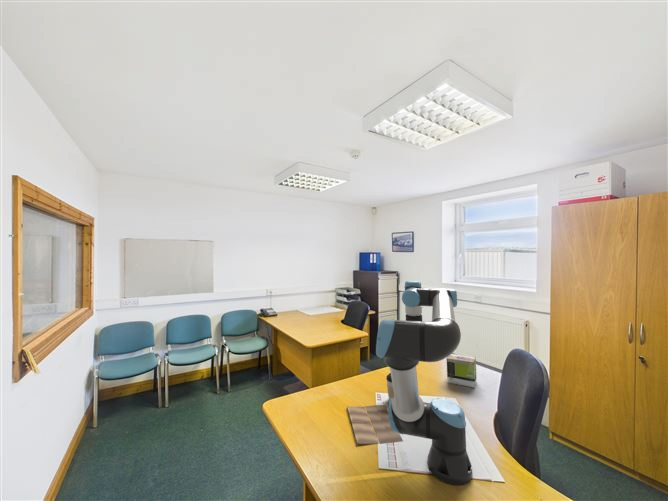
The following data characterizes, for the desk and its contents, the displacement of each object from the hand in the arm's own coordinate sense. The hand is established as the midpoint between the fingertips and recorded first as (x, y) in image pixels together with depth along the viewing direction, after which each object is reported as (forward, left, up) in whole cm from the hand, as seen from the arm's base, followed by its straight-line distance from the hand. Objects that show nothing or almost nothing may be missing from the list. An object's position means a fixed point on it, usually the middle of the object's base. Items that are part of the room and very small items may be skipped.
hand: (415, 363), depth 134 cm
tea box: (+32, -41, -27) cm, 59 cm away
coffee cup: (+16, +5, -27) cm, 31 cm away
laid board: (-1, +17, -26) cm, 31 cm away
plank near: (-8, +27, -26) cm, 38 cm away
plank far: (+6, +27, -26) cm, 38 cm away
